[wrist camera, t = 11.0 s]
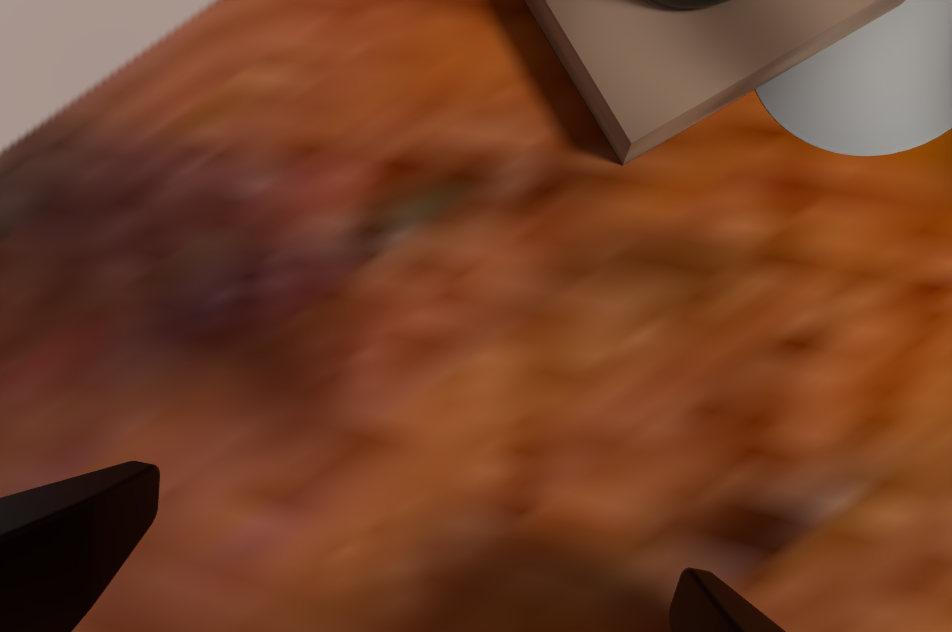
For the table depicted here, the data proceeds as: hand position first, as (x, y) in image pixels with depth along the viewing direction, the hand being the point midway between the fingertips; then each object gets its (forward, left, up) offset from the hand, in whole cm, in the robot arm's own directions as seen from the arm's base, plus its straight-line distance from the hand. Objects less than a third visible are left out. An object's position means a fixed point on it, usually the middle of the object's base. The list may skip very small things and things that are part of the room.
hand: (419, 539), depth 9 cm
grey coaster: (-8, -19, -14) cm, 25 cm away
